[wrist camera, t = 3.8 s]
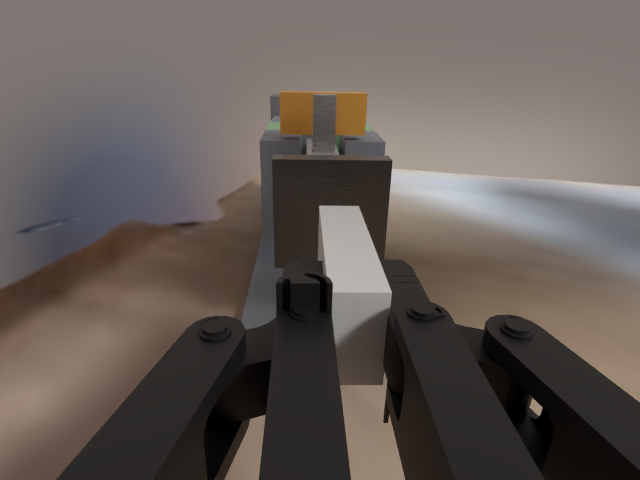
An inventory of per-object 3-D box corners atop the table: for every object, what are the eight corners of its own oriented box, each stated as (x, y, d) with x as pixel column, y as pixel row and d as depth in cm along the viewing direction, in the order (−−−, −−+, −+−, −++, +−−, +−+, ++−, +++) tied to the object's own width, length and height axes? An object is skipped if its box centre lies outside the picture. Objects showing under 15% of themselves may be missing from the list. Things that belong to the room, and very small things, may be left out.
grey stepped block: (422, 371, 25) (453, 146, 20) (231, 372, 24) (213, 143, 19) (357, 202, 54) (363, 95, 49) (271, 201, 54) (268, 93, 49)
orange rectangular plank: (364, 135, 32) (367, 93, 31) (280, 134, 32) (279, 92, 31) (362, 132, 34) (364, 92, 32) (281, 131, 33) (280, 90, 32)
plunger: (383, 268, 23) (396, 110, 20) (274, 268, 23) (270, 108, 20) (351, 184, 39) (356, 89, 36) (286, 184, 39) (285, 87, 36)
